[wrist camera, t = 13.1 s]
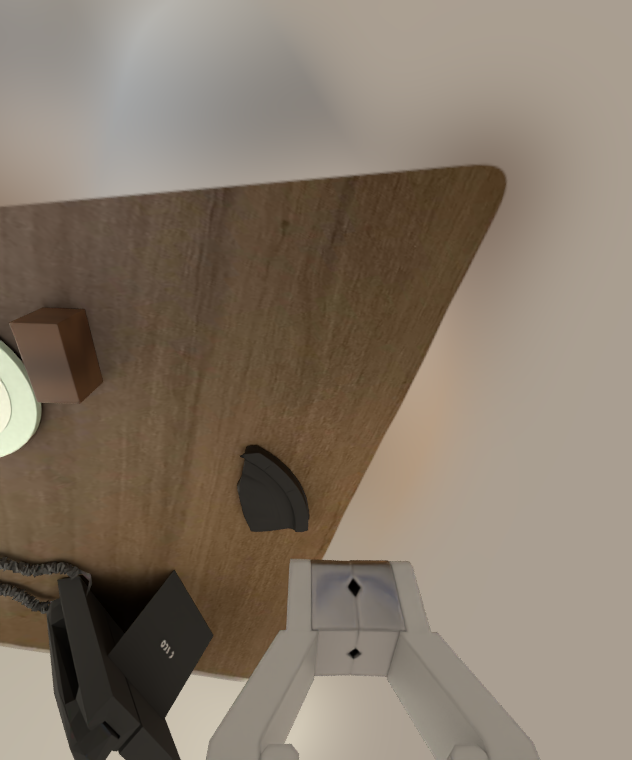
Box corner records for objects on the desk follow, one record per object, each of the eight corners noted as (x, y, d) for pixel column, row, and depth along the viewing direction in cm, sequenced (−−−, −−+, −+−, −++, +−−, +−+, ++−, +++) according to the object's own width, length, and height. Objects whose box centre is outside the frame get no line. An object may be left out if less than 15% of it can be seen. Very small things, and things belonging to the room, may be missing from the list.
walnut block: (42, 307, 35) (8, 322, 31) (84, 308, 35) (56, 323, 31) (65, 380, 39) (37, 402, 35) (103, 381, 39) (80, 403, 35)
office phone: (-45, 554, 51) (-236, 751, 33) (147, 523, 49) (55, 714, 31) (62, 662, 64) (-32, 844, 47) (217, 641, 62) (181, 823, 44)
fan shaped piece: (297, 440, 43) (297, 448, 42) (310, 521, 49) (310, 531, 48) (227, 447, 43) (225, 456, 42) (249, 527, 50) (247, 537, 48)
